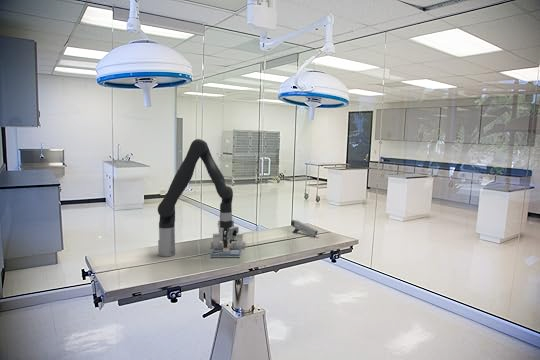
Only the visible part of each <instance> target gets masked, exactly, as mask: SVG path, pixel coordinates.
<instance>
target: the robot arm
mask: <svg viewBox="0 0 540 360" xmlns="http://www.w3.org/2000/svg"><path fill="white" fill-rule="evenodd" d="M186 153H187V154H186V156H185V157H184V160H183V161H182V162H181V164H180V166H179V168H178V169H177V171H176V172H175V175H174V177H173V179H172V180H171V184H170V185H169V187H168V191H167V193H166V194H165V196H164V198H163V199H162V200H161V201H160V202H159V204H158V207H157V213H158V215H159V222H158V238H159V239H158V241H157V242H158V243H157V244H158V245H157V247H158V248H157V249H158V251H157V253H158V256H159V257H173V256H175V255H176V231H175V230H176V228H175V227H176V224H175V223H176V204H177V202H178V200H179V199H180V197H181V195H182V194H183V193H184V192H185V190H186V188H187V187H188V185H189V184H190V182H191V180H192V177H193V176H194V171H195V169H196V165H197V164H198V161H199V159H201V161H202V162H203V164H204V166H205V168H206V171H207V174H208V176H209V177H210V179H211V181H212V183H213V184H214V187H215V190H216V193H217V195H218V196H219V197H220V198H221V203H220V204H219V221H220V227H221V228H224V230H223V231H222V233H223V241H222V242H223V247H224V248H227V241H228V240H227V239H229V232H230V230H229V228H231V227H232V220H233V213H232V212H233V211H232V210H233V209H232V208H233V206H232V204H233V198H234V192H233V191H234V190H233V188H232V187H231V186H229V185H227V184H226V182H225V181H226V180H225V176H224V175H223V173H222V172H221V170H220V168H219V166H218V165H217V163H216V161H215V159H214V158H213V156H212V154H211V150H210V148H209V146H208V143H207V142H206V141H205V140H202V139H200V138H196V139H194V140H193V141H192V142H191V144H190V146H189V148H188V150H187V152H186ZM224 238H225V239H224Z"/></svg>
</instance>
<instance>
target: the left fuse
mask: <svg viewBox="0 0 540 360" xmlns="http://www.w3.org/2000/svg"><path fill="white" fill-rule="evenodd" d="M219 236H220V233H219V232H213V233H212V238H213V239H212V241H213V248H219V247H220V240H219Z"/></svg>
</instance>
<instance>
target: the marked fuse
mask: <svg viewBox="0 0 540 360" xmlns="http://www.w3.org/2000/svg"><path fill="white" fill-rule="evenodd" d="M227 240H228V241H227V248H224V247H223V250H222V254H230V251H231V250H229V245H230V241H229V239H227Z"/></svg>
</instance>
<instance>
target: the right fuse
mask: <svg viewBox="0 0 540 360" xmlns="http://www.w3.org/2000/svg"><path fill="white" fill-rule="evenodd" d="M243 237H244V235H243V232H239V233H237V238H236V245H237V248H243V241H244V239H243Z"/></svg>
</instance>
